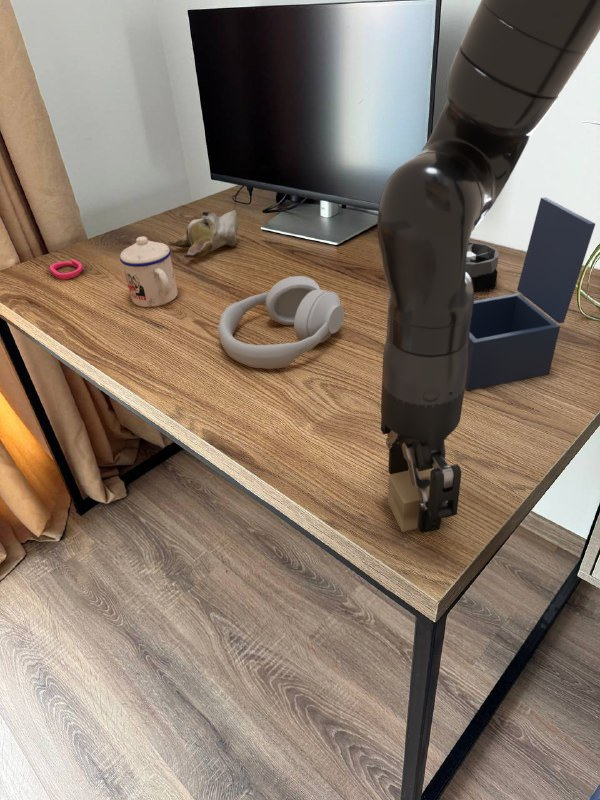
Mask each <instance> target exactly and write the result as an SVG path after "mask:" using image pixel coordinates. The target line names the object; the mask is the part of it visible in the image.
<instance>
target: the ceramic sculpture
mask: <svg viewBox="0 0 600 800" xmlns="http://www.w3.org/2000/svg"><path fill="white" fill-rule="evenodd" d="M237 216H238V215H237V210H235V209H233V210H231V211H228V212H226V213H224V214H222V215H221V216H217V215H216V214H215V213H212V212H210V211H203V212H202V214H201V217H197V218H195V219H192V220H190V222H189V223H188V225H187V227H186V228H185V233H184V234H183V235H182V236H181V237H180V238H177V240H176V241H168V243H167V244H168V245H169V246H172V247H177V248H183V249H188V250H187V252H186V254H184V258H187V259H199V258H203V257H204V256H206V255H207V254H209V253H211V252H213V251H216V250H217V249H218V248H221V247H223V246H225V245H226V246H229V247H234V246H236V243H237V234H238V229H239V226H238V217H237Z"/></svg>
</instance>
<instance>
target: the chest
mask: <svg viewBox="0 0 600 800" xmlns="http://www.w3.org/2000/svg"><path fill="white" fill-rule="evenodd" d="M472 312H473V313H472V320H471V327H470V334H469V342H468V352H469V361H468V369H467V376H466V383H465V390H466V391H471V390H478V389H483V388H488V387H492V386H497V385H501V384H502V385H503V384H507V383H511V382H517V381H521V380H527V379H532V378H536V377H541V376H547V375H550V373H551V368H552V363H553V359H554V355H555V350H556V347H557V341H558V338H559V334H560V329H561V325H559V323H558V322H556V321H555V320H554V319H553V318H551V317H550V316H549V315H548V314H546V313H545V312H544V311H543V310H541V309H540V308H539V307H538V306H536V305H535V304H534V303H533V302H531V301H530V300H529V299H528V298H526V297H525V296H524V295H523V294H521V293H520V292H515V293H511V294H510V293H509V294H504V295H500V296H494V297H487V298H483V299H477V300H474V303H473V311H472Z"/></svg>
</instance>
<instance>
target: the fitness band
mask: <svg viewBox="0 0 600 800" xmlns="http://www.w3.org/2000/svg"><path fill="white" fill-rule="evenodd" d="M67 266H69V267H74V268H76V269H75V270H73V271H69V272H66V273H64V272H63V273H62V272H59V271H58V269H60V268H63V267H67ZM49 272H50V273H51V275H52V276H53V277H55V278H57V279H58V280H65V281H66V280H71V279H73V278H75V277H77V276H79V274H81V273H82V272H85V267H83V264H82V262H80V261H78V260H77V259H75V258H72V259H71V260H70V261H58V262H55V263H53V264H50V265H49Z"/></svg>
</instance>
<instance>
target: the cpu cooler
mask: <svg viewBox="0 0 600 800" xmlns="http://www.w3.org/2000/svg"><path fill="white" fill-rule="evenodd" d="M499 255H500V254H499V250H498V249H497V248H496V247H494V246H493V245H490V244H486V243H481V242H476V241H469V245H468V250H467V259H466V273H468V274H469V276H470V278H471V279H472V282H473V286H474V292H475V291H477V292H478V291H479V292H480V291H481V292H482V291H491V290H492V289H495V288H496V285H497V278H498V269H497V268H498V264H499V257H500V256H499Z"/></svg>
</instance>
